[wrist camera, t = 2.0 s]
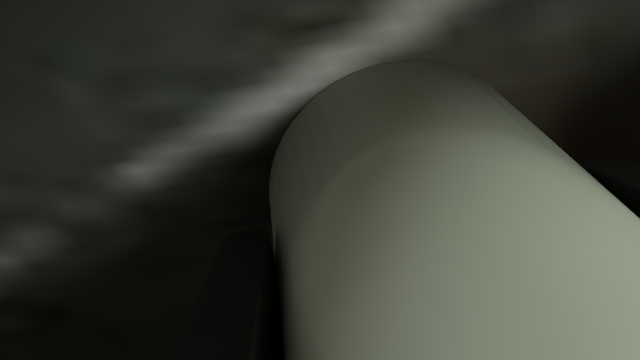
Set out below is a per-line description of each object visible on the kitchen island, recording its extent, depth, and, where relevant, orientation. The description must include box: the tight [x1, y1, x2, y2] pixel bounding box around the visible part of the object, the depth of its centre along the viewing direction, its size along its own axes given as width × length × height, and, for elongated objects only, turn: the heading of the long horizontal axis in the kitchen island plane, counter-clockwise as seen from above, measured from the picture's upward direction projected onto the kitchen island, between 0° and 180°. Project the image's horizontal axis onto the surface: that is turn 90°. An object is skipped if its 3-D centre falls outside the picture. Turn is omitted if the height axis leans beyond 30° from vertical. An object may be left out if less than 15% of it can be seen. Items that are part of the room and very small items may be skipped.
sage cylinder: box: [269, 60, 640, 360], centre depth 8 cm, size 5×5×7 cm
